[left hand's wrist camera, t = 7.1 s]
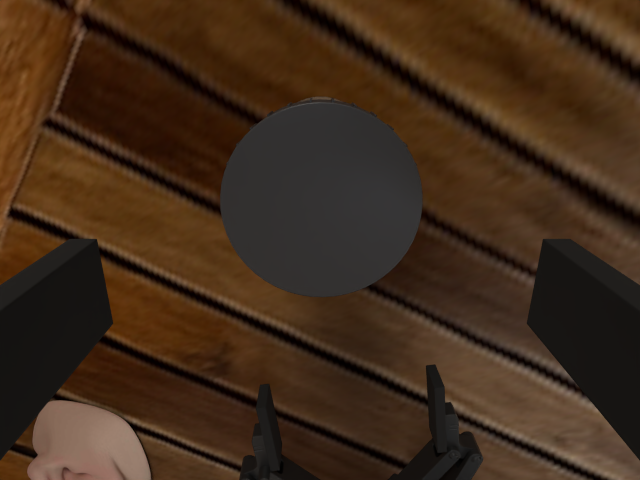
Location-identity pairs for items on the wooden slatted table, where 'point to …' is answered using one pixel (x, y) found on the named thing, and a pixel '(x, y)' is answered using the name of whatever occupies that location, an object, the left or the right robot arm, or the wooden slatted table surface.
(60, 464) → the anatomical model
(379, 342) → the wooden slatted table surface
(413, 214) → the lid
